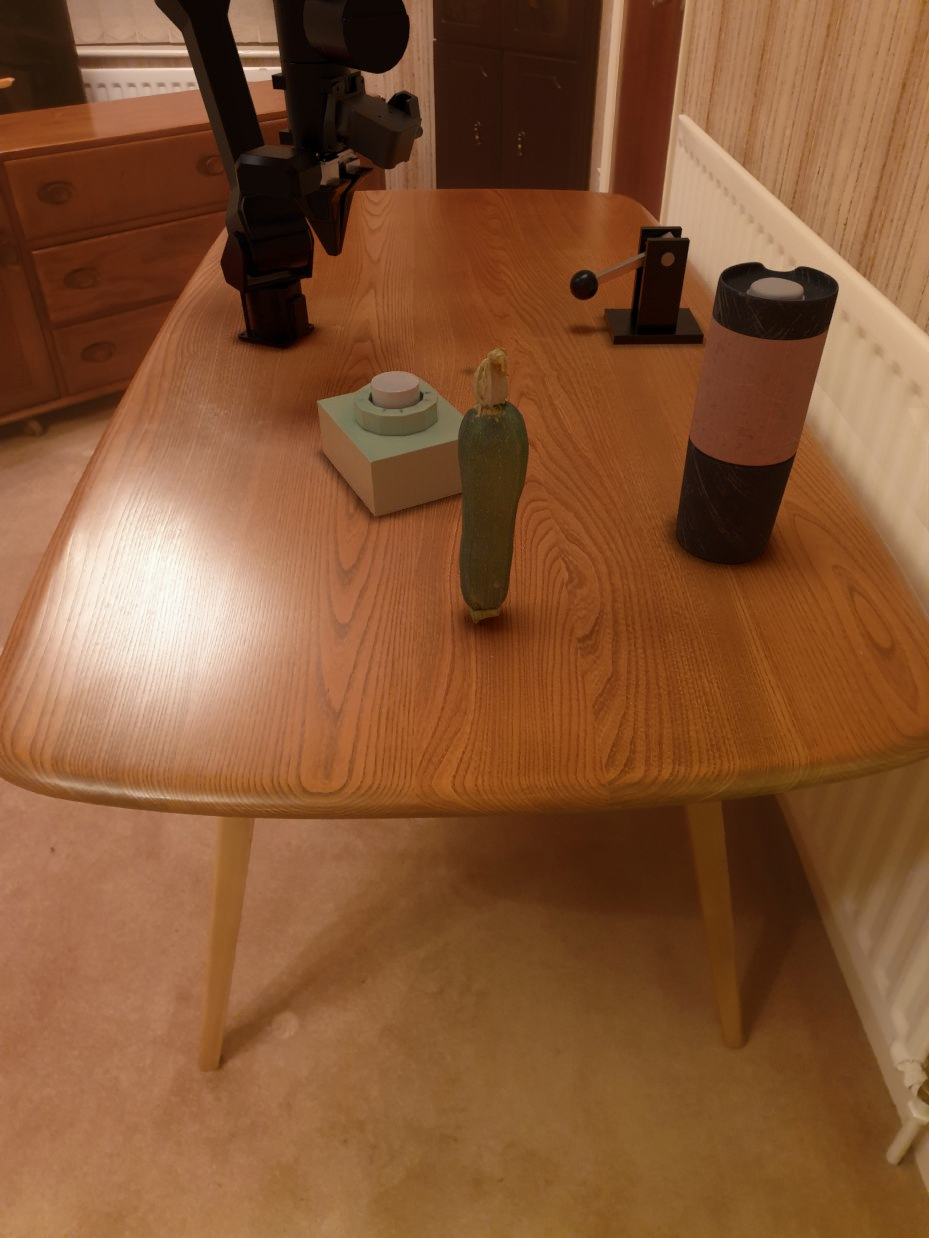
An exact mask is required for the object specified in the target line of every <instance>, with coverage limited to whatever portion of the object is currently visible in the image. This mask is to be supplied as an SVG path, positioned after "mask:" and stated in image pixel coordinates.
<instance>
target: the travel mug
mask: <svg viewBox="0 0 929 1238" xmlns="http://www.w3.org/2000/svg"><path fill="white" fill-rule="evenodd" d="M839 289H840V285H839V283H838V281H837V280H836V279H835V278H834V277H833V276H832V275H830V274H828V273H826V272H825V271H822V270H819V269H817V268H815V267H814V268H813V267H810V266H806V265H799V266H797V267H795V268H794V269H792V270H787V271H786V270H785V271H780V270H773V269H770V268H767V267H766V266H765V265H764V264H763V263H762V262H760V261H748V262H742V263H738V264H734V265H730V266H729V267H726V268H725V269H723V271H721V273H720V274H719V277H718V280H717V285H716V291H715V295H714V301H713V306H712V312H711V317H710V322H709V327H708V333H707V337H706V342H705V347H704V352H703V358H702V364H701V370H700V373H699V380H698V384H697V390H696V395H695V400H694V406H693V411H692V417H691V421H690V425H689V433H688V439H687V447H686V453H685V459H684V465H683V473H682V480H681V487H680V495H679V500H678V501H679V503H678V509H677V516H676V524H675V536H676V537H675V538H676V539H677V541H678V543H679V544H680V545H681V547H682V548H683V549H684V550H686V551H687V552H688V553H691V554H692V555H694V556H696V557H698V558H701V559H702V560H706V561H709V562H714V563H719V564H742V563H747V562H750V561H753V560H756V559H757V558H759V557H760V556H762V555H763V553H764V552H765V551H766V550H767V547H768V545H769V542H770V539H771V536H772V532H773V530H774V527H775V524H776V519H777V517H778V513H779V511H780V507H781V504H782V501H783V497H784V494H785V491H786V487H787V485H788V482H789V478H790V475H791V472H792V468H793V466H794V463H795V459H796V456H797V453H798V452H797V451H798V449H799V446H800V442H801V438H802V434H803V430H804V427H805V422H806V419H807V415H808V411H809V406H810V403H811V399H812V395H813V391H814V387H815V384H816V381H817V377H818V373H819V370H820V369H819V368H820V365H821V361H822V357H823V354H824V349H825V346H826V342H827V339H828V334H829V331H830V326H831V323H832V319H833V315H834V312H835V307H836V303H837V300H838V297H839V291H840V290H839Z"/></svg>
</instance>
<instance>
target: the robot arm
mask: <svg viewBox="0 0 929 1238" xmlns="http://www.w3.org/2000/svg"><path fill="white" fill-rule="evenodd" d="M153 3H155V6H156V7H157V8H158V9H159V10H160V11H161V12H162V14H164V15H165V17H166V18H167V19H168V20H169V21H170V22H171V23H172V24H173V25H174V26H175V27H176V28H177V29H178V30H179V31H180V33H181V35H182V38H183V41H184V45H185V47H186V52H187V54H188V56H189V61H190V63H191V67H192V70H193V74H194V77H195V80H196V83H197V86H198V89H199V92H200V96H201V99H202V102H203V105H204V108H205V111H206V114H207V118H208V121H209V124H210V128H211V131H212V134H213V138H214V141H215V143H216V147H217V150H218V153H219V157H220V159H221V163H222V166H223V169H224V172H225V176H226V178H227V182H228V185H229V189H230V193H229V198H228V203H227V207H226V213H225V217H224V223H225V224H224V225H225V229H226V232H227V238H226V241H225V244H224V248H223V251H222V255H221V258H220V261H219V262H220V263H219V264H220V268H221V271H222V274H223V278H224V281H225V283H226V284H227V285H229V286H231V287H232V288H233V289H235V290H236V291H238V292H239V295H240V301H241V307H242V313H243V319H244V326H245V330H243V331H242V332H240V333H239V334H238V335H237V336H238V340H240V341H245V342H250V343H255V344H258V345H259V344H260V345H265V346H270V347H275V348H281V349H285V348H288V347H290V346H291V345H292V344H294V343H296V342H297V341H299V340H300V339H302V338H303V337H304V336H307V334H309V333H310V332H312V331H313V330H315V328H316V327H315V324H314V323H310V322H309V314H308V305H307V297H306V295H305V293H303V288H302V282H301V280H304V279H307V280H309V279H312V278H313V271H314V257H315V237H314V234H315V236H316V237H317V239H318V241H319V243H320V244H321V246H322V248H323V250H324V252H325V253H326V254H327V256H331V257H338V256H340V255H341V254H342V253H343V248H344V242H345V238H346V234H347V233H346V232H347V227H348V223H349V217H350V212H351V207H352V203H353V200H354V195H355V192H356V190H357V188H358V187H359V186H360V185H361V184H362V183H363V182H364V181H365V180H366V179H367V178H368V177H369V176H370V175H372V173H373V172H374V168H373V167H371V166H364V165H363V166H362V165H361V162H360V159H361V158H360V157H357V154H358V155H361V156H362V157H364V158H366V159H368V160H370V161H371V163H372V165H374V166H376V167H378V168H380V169H382V170H387V171H388V170H393V169H395V168H396V167H397V166H398V165H399V164H402V163H407V162H409V161H410V159H411V155H412V151H413V147H414V144H415V143H414V142H415V140H417V139H420V138H421V137H423V134H424V128H423V127H422V122H423V118H422V117H421V109H420V102H419V97H418V96H417V95H415V94H413V93H411V92H410V91H408V90H405V89H404V90H400V91H398V92H395V93H394V94H393V95H392V96H391V97H390V98H389V100H388V101H387V98H385V97H383V96H382V97H379V98H376V97H374V96H372V95H370V94H367V92H366V91H367V90H366V82H365V77H364V76H363V75H362V72H365V73H369V74H373V75H374V74H375V75H381V74H384V73H387V72H390V71H391V70H393V69H394V68H395V67H396V66H397V65H398V64H399V63H400V61H401V60H402V59H403V57H404V55H405V53H406V52H407V51H406V50H407V49H408V46H409V45H408V44H409V40H410V33H411V22H410V20H411V19H410V15H409V14H408V12H407V9H406V6H405V3H404V1H403V0H272V4H273V12H274V21H275V29H276V36H277V37H276V38H277V44H278V46H277V47H278V54H279V62H280V69H281V70H280V71H281V72H277V73H274V74H271V75H270V76H271V82H272V83H271V85H272V89H273V90H279V91H283V95H284V103H285V104H284V105H285V111H286V120H287V128H284V129H281V130H279V131H278V138H279V145H281V146H279V145H269V144H268V145H267V144H266V141H265V137H264V134H263V131H262V127H261V124H260V120H259V118H258V114H257V110H256V108H255V104H254V100H253V97H252V94H251V90H250V87H249V84H248V81H247V76H246V74H245V70H244V66H243V64H242V60H241V56H240V53H239V50H238V49H239V48H238V46H237V43H236V39H235V36H234V32H233V30H232V26H231V23H230V18H229V11H230V7H231V0H153ZM288 146H289V147H288ZM290 146H292V147H290ZM312 230H313V231H312ZM313 232H314V234H313Z"/></svg>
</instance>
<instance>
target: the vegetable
mask: <svg viewBox="0 0 929 1238" xmlns="http://www.w3.org/2000/svg"><path fill="white" fill-rule="evenodd" d="M506 359H508V360H510V359H511V357H509V356H508V353H507V348H506V347H496V348H494V349H493V350H491V351H489V352H487V357H486V358H484V359H482V360H481V363H480V364H479V365H478V367H477V368H476V370H475V371H474V373H473V377H472V384H471V391H472V395H473V398H474V399H475V400H476V403H474V404H473V405H472V406H471V407H470V408H469V409H467V411H466V412H465V414H464V415H463V416H464V417H463V419H462V422H461V425H460V428H459V433H458V461H459V467H460V478H461V485H462V493H461V497H462V498H461V500H462V504H461V508H462V509H461V517H462V518H461V534H460V535H461V536H460V543H459V557H458V558H459V559H458V565H459V566H458V568H459V569H458V570H459V586H460V592H461V595H462V598H463V600H464V602H465V604H466V605H467V606H468V610H469V613H470V616H471V619H472V621H473V623H474V624H478V623H479V621H481V620H484V619H486V618H487V619H488V618H495V617H496V618H497V617H500V613H501V609H502V607H501V606H502V604H503V603H504V602H505V601H506V599H507V597H508V594H509V587H510V579H511V571H512V563H513V557H514V544H515V543H514V542H515V539H514V537H515V531H516V521H517V513H518V509H519V503H520V499H521V497H522V494H523V491H524V487H525V483H526V476H527V471H528V463H529V455H530V441H529V436H528V430H527V426H526V422H525V419H524V416H523V414H522V412H521V411H520V410H519V409H518V407H516V406H515V405H514V404H513V403H511V402H510V401H508V400H507V399H508V398H509V392H510V389H509V388H510V387H509V382H508V377H510V375H509V373H508V371H507V370H508V368H507V367H508V366H507V365H508V361H507V360H506Z"/></svg>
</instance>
